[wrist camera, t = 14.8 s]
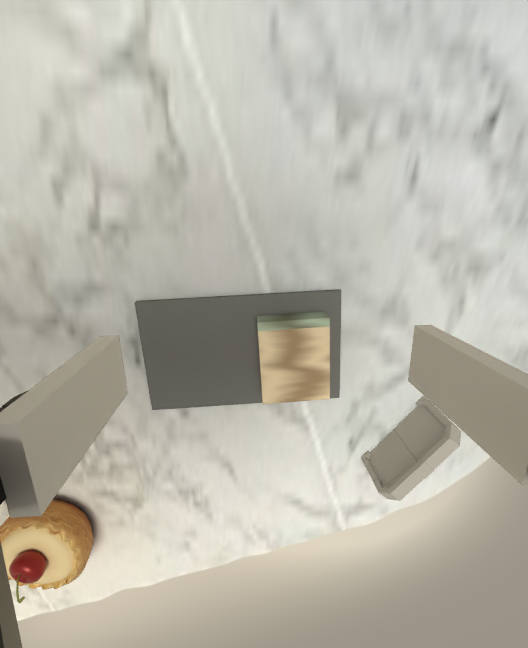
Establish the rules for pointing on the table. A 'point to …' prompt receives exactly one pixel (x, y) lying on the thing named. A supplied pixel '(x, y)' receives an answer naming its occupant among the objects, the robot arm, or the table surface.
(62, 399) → the robot arm
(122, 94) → the table surface
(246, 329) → the mat
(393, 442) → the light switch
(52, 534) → the pastry
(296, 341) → the tan and green block
